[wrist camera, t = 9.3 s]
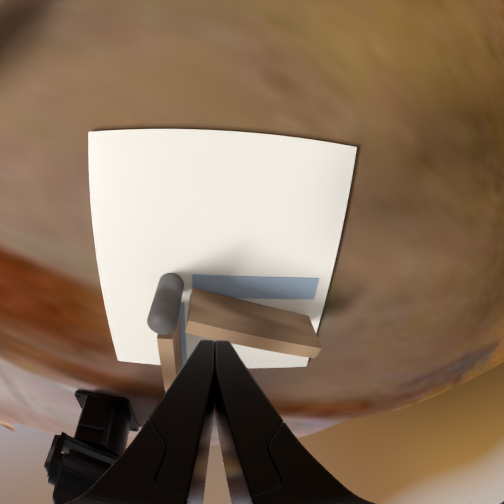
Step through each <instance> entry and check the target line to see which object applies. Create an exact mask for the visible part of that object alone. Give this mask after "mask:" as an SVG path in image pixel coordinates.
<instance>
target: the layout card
mask: <svg viewBox="0 0 504 504" xmlns="http://www.w3.org/2000/svg"><path fill="white" fill-rule="evenodd" d="M356 150H357V147H354V146H349V145H343V144H338V143H332V142H326V141H319V140H312V139H305V138H298V137H290V136H281V135H272V134H262V133H251V132H239V131H224V130H203V129H125V130H105V131H91V132H89V184H90V200H91V213H92V224H93V233H94V242H95V249H96V257H97V264H98V270H99V276H100V282H101V288H102V293H103V298H104V303H105V308H106V313H107V318H108V322H109V327H110V331H111V335H112V339H113V343H114V347H115V351H116V355H117V358H118V361H125V362H134V363H144V364H155V365H161V364H160V357H159V350H158V343H157V335H158V334H157V333H155V332H154V331H152V330H151V329H150V328H149V326H148V324H147V318H148V315H149V312H150V308H151V305H152V302H153V299H154V295H155V292H156V289H157V286H158V283H159V280H160V278H161V276H162V275H164V274H166V273H174V274H177V275H179V276H180V277H181V278H182V280H183V282H184V288H183V293H182V299H181V305H180V310H179V324H180V340H181V353H182V365H184V364H185V362H186V361H187V359H188V358H189V356H190V355H191V353H192V352H193V350H194V349H195V347H196V345H197V344H198V342H199V341H200V340H213V341H214V342H215V341H216V340H214V339H210V338H206V337H201V336H197V335H193V334H189V333H185V329H186V321H187V313H188V306H189V299H190V295H191V292H192V289H193V287H195V288H199V289H202V290H206V291H210V292H213V293H217V294H221V295H225V296H229V297H233V298H236V299H240V300H244V301H248V302H252V303H256V304H260V305H265V306H269V307H273V308H277V309H281V310H286V311H290V312H294V313H299V314H303V315H307V316H309V318H310V320H311V323H312V325H313V328H314V330H315V333H317V329H318V326H319V322H320V318H321V315H322V311H323V307H324V304H325V300H326V296H327V292H328V288H329V284H330V280H331V276H332V272H333V268H334V264H335V259H336V255H337V250H338V246H339V241H340V237H341V232H342V227H343V223H344V218H345V213H346V208H347V202H348V197H349V192H350V186H351V180H352V174H353V169H354V162H355V156H356ZM231 344H232V343H231ZM232 346H233V347H234V349H235V351H236V352H237V354H238V355H239V357H240V358H241V360H242V361H243V363H244V364H245V366H246V367H247V368H285V367H306V366H307V363H308V360H309V357H302V356H296V355H290V354H284V353H278V352H273V351H267V350H262V349H257V348H252V347H247V346H242V345H237V344H232Z"/></svg>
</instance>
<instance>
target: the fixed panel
mask: <svg viewBox="0 0 504 504" xmlns="http://www.w3.org/2000/svg"><path fill="white" fill-rule="evenodd" d="M183 288H184V282H183V280H182V278H181V277H180V276H179V275H177V274H174V273H166V274H164V275H162V276H161V278H160V280H159V283H158V286H157V289H156V292H155V295H154V299H153V302H152V305H151V308H150V312H149V315H148V318H147V324H148V326H149V328H150V329H151V330H152V331H154V332H155V333H157V334H158V335H157V343H158V350H159V357H160V364H161V370H162V376H163V382H164V388H165V393H166V391H167V390H168V388H169V387H170V385H171V384H172V382H173V381H174V379H175V378H176V376H177V374H178V373H179V371H180V370H181V368H182V367H183V365H182V353H181V340H180V324H179V310H180V305H181V299H182V293H183Z"/></svg>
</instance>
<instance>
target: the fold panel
mask: <svg viewBox="0 0 504 504" xmlns="http://www.w3.org/2000/svg"><path fill="white" fill-rule="evenodd" d="M185 333H189V334H193V335H197V336H201V337H206V338H210V339H214V340H228V341H229V342H230V343H232V344H237V345H242V346H247V347H252V348H257V349H262V350H267V351H273V352H278V353H284V354H290V355H296V356H302V357H309V358H316V356H317V355H318V353H319V352H320V350H321V349H322V348H321V345H320V343H319V340H318V338H317V335H316V333H315V330H314V328H313V325H312V323H311V320H310V318H309V316H307V315H303V314H299V313H294V312H290V311H286V310H281V309H277V308H273V307H269V306H265V305H260V304H256V303H252V302H248V301H244V300H240V299H236V298H233V297H229V296H225V295H221V294H217V293H213V292H210V291H206V290H202V289H199V288H195V287H193V289H192V292H191V295H190V299H189V306H188V313H187V321H186V329H185Z"/></svg>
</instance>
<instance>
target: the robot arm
mask: <svg viewBox="0 0 504 504" xmlns="http://www.w3.org/2000/svg"><path fill="white" fill-rule="evenodd" d="M75 397H76V399H77V400H78V402H79V404H80V406H81V408H82V412H81V415H80V418H79V422H78V425H77V429H76V432H75V436H74V438H73V437H71V436H68V435H67V434H66V433H64V432H62V434H61V435H55V436H54V439H53V442H52V446H51V448H50V451H49V454H48V456H47V459H46V462H45V465H44V467H45V469H46V471H47V472H48V475H47V476H48V477H49V479H48V483H49V484H52V485H54V486H55V487H54V492H53V500H52V501H53V504H203V499H204V491H205V482H206V473H207V465H208V456H209V448H210V440H211V432H212V424H213V417H214V403H215V415H216V422H217V428H218V434H219V440H220V445H221V451H222V456H223V462H224V467H225V472H226V478H227V482H228V487H229V492H230V497H231V502H232V504H375V503H372V502H369V501H366V500H364V499H362V498H360V497H358V496H357V495H355V494H353V493H352V492H351V491H349V490H348V489H347V488H346V487H344V486H343V485H342V484H341V483H340V482H339V481H338V480H337V479H336V478H335V477H333V475H331V474H330V473H329V472H328V471H327V470H326V469H325V468H324V467H323V466H322V465H321V464H320V463H319V462H318V461H317V460H316V459H315V458H314V457H313V456H312V455H311V454H310V453H309V452H308V451H307V450H306V449H305V448H304V447H303V445H302V444H301V443H300V442H299V441H298V439H297V438H296V437H295V436H294V434H293V433H292V432H291V430H290V429H289V428H288V426H287V425H286V423H284V422H283V420H282V418H281V417H280V415H279V414H278V413H277V411H276V410H275V408H274V407H273V405H272V404H271V403H270V401H269V400H268V398H267V397H266V395H265V394H264V392H263V391H262V390H261V388H260V387H259V385H258V384H257V382H256V381H255V379H254V378H253V376H252V375H251V373H250V372H249V370H248V369H247V367H246V366H245V364H244V363H243V361H242V360H241V358H240V357H239V355H238V354H237V352H236V351H235V349H234V347H233V346H232V344H231V343H230V342H229V341H228V340H216V341H215V342H214V341H213V340H200V341H199V342H198V344H197V345H196V347H195V349H194V350H193V352H192V353H191V355H190V356H189V358H188V359H187V361H186V362H185V364H184V365H183V367H182V368H181V370H180V371H179V373H178V374H177V376H176V378H175V379H174V381H173V382H172V384H171V385H170V387H169V388H168V390H167V391H166V393H165V394H164V396H163V397H162V399H161V400H160V402H159V403H158V405H157V406H156V408H155V409H154V411H153V412H152V414H151V416H150V417H149V420H147V421H146V423H145V424H144V426H143V427H142V429H141V430H140V432H139V433H138V435H137V436H136V437H135V439H134V440H133V442H132V443H131V444H130V445H129V447H128V448H127V449H126V445H127V439H128V434H129V431H138V429H139V427H138V424H137V421H136V419H135V416H134V413H133V410H132V408H131V405H130V402H129V400H127V399H124V398H117V397H111V396H104V395H98V394H93V393H87V392H82V391H76V392H75ZM62 452H64V453H62ZM500 504H504V501H503V502H502V503H500Z"/></svg>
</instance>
